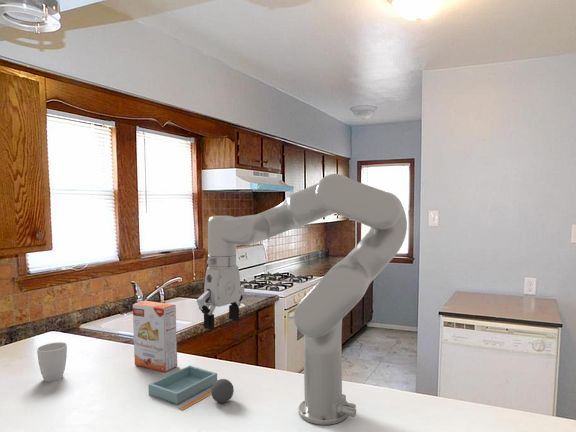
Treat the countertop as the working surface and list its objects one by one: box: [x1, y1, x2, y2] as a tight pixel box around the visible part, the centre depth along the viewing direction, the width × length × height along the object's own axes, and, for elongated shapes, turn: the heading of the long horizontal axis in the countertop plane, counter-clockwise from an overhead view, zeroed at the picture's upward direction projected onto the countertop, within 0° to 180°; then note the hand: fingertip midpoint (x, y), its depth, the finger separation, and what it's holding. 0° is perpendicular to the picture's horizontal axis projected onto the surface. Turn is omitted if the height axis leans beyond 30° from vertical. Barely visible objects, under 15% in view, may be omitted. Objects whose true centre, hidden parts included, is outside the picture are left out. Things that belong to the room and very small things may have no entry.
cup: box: [36, 341, 68, 383], centre depth 130 cm, size 8×8×10 cm
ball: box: [210, 378, 235, 404], centre depth 113 cm, size 6×6×6 cm
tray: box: [147, 365, 218, 411], centre depth 120 cm, size 15×18×3 cm
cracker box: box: [132, 300, 178, 373], centre depth 138 cm, size 14×6×21 cm, turn 62°
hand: (221, 324), depth 113 cm, fingers open, 9 cm apart
